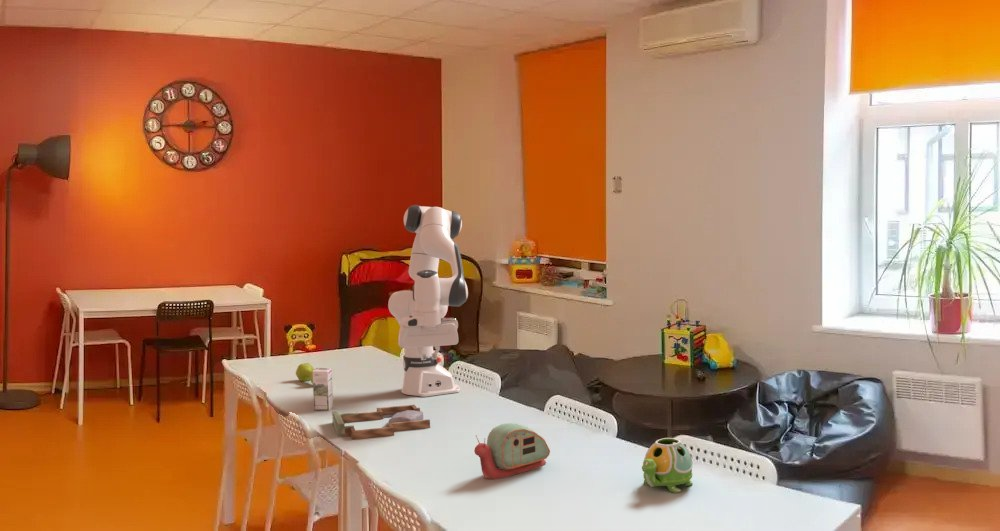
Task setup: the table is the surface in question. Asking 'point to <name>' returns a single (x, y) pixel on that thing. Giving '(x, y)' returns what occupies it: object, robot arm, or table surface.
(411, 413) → the stone block
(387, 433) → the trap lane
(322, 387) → the syrup box
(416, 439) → the table surface
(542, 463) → the toy snail
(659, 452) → the turtle holder
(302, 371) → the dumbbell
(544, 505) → the table surface
